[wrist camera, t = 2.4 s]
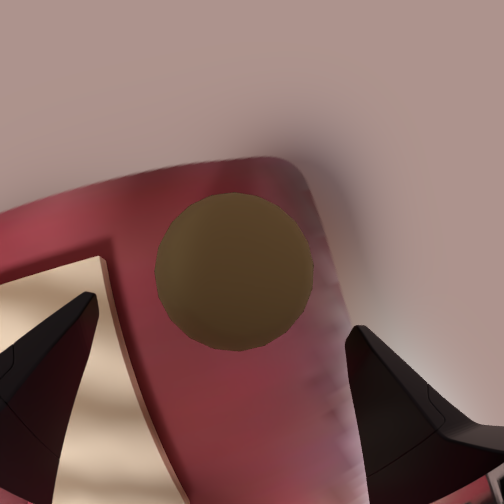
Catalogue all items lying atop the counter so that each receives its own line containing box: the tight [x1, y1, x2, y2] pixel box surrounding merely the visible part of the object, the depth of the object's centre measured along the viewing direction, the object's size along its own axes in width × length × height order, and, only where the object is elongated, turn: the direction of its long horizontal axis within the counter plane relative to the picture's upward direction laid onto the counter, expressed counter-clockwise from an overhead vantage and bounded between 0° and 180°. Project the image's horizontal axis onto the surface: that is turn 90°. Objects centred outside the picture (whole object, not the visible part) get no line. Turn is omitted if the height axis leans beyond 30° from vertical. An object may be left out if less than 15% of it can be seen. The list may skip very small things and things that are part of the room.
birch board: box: [0, 256, 190, 504], centre depth 14 cm, size 18×13×2 cm
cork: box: [154, 192, 314, 351], centre depth 13 cm, size 6×6×11 cm
